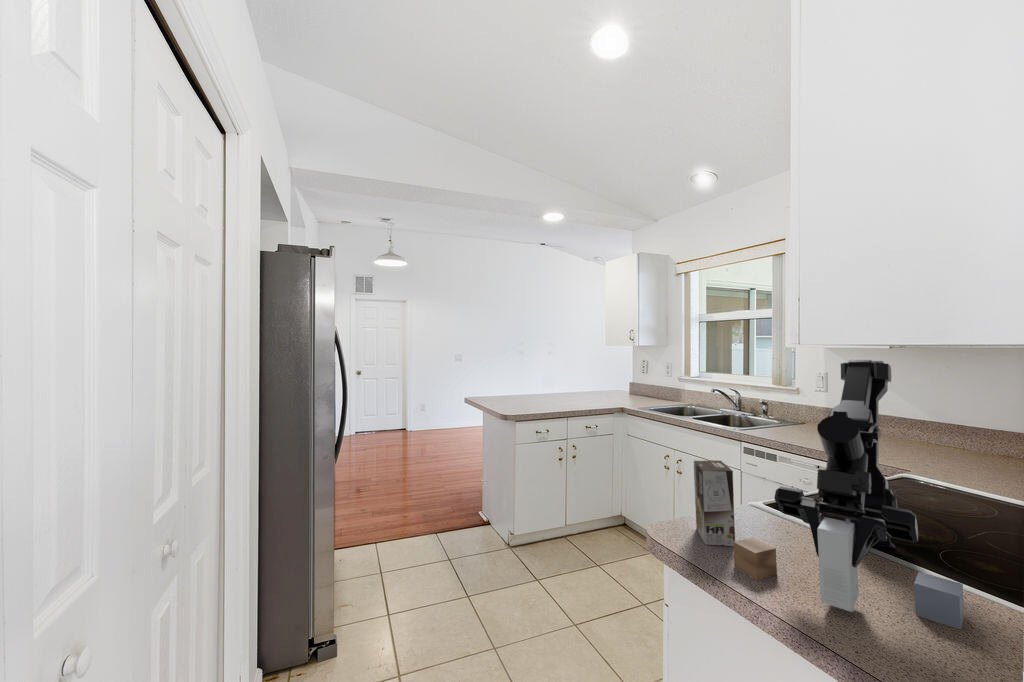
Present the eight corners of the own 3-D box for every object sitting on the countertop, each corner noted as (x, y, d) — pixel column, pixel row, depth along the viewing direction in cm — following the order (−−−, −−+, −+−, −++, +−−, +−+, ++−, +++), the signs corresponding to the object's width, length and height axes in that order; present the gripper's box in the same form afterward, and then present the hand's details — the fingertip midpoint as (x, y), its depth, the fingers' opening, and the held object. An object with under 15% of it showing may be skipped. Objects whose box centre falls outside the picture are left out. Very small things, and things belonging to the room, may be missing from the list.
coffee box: (736, 547, 92) (733, 470, 92) (704, 545, 93) (701, 470, 94) (724, 529, 101) (722, 459, 101) (695, 527, 102) (692, 459, 103)
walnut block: (754, 562, 86) (753, 537, 86) (776, 575, 81) (775, 548, 81) (734, 567, 84) (733, 541, 84) (756, 580, 79) (755, 553, 79)
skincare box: (827, 586, 74) (824, 516, 74) (859, 596, 71) (856, 522, 71) (819, 602, 69) (816, 527, 70) (853, 613, 66) (849, 535, 67)
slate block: (920, 602, 71) (919, 571, 71) (964, 616, 67) (962, 583, 67) (915, 615, 68) (913, 583, 68) (961, 630, 64) (959, 596, 64)
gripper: (775, 442, 80) (758, 521, 72) (913, 458, 66) (910, 558, 59) (788, 474, 85) (774, 551, 77) (918, 496, 72) (917, 591, 64)
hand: (835, 561), depth 69 cm, fingers closed on skincare box, 4 cm apart
